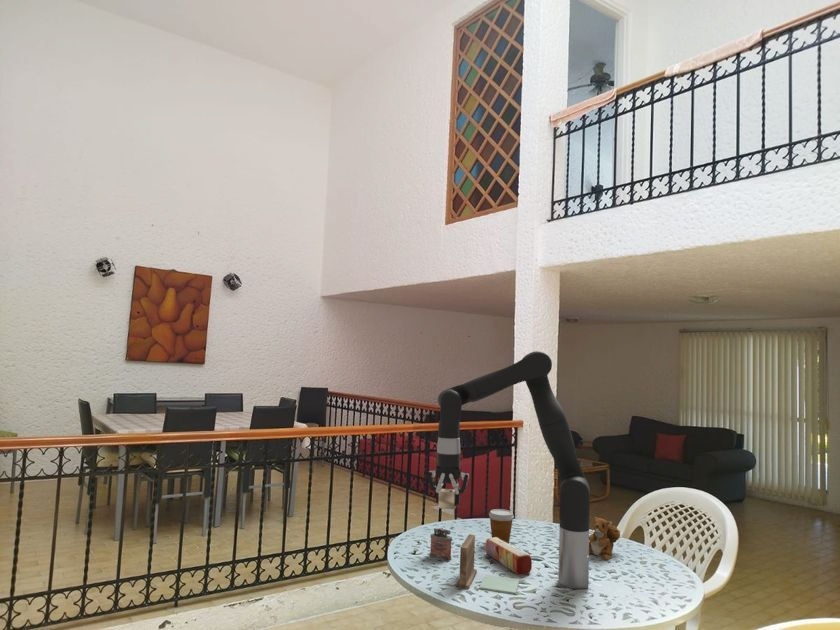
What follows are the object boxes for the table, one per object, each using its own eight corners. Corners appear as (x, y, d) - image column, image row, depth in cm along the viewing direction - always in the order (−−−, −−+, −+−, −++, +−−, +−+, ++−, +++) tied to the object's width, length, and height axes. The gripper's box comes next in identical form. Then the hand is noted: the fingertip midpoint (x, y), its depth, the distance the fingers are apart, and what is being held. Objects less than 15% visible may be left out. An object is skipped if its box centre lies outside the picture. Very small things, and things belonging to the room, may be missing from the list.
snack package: (483, 555, 202) (484, 535, 202) (499, 553, 204) (499, 534, 205) (515, 577, 182) (516, 555, 183) (533, 574, 185) (533, 553, 185)
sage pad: (519, 580, 179) (519, 579, 179) (515, 594, 168) (515, 592, 168) (485, 575, 182) (485, 574, 182) (479, 588, 171) (479, 587, 171)
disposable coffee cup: (483, 541, 216) (484, 509, 217) (504, 539, 220) (505, 508, 221) (496, 549, 207) (497, 516, 208) (518, 547, 211) (519, 514, 212)
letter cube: (456, 505, 183) (457, 489, 183) (453, 509, 178) (453, 493, 179) (442, 504, 184) (442, 488, 185) (438, 507, 179) (438, 491, 180)
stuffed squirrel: (579, 553, 207) (580, 517, 208) (599, 546, 216) (600, 511, 217) (604, 561, 200) (605, 523, 201) (624, 553, 209) (624, 517, 210)
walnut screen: (476, 572, 184) (478, 535, 185) (468, 589, 170) (470, 548, 171) (464, 571, 185) (466, 533, 186) (455, 587, 171) (457, 546, 172)
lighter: (427, 556, 197) (429, 527, 198) (432, 554, 200) (433, 525, 201) (448, 561, 193) (449, 531, 194) (452, 558, 196) (453, 529, 197)
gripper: (472, 451, 184) (471, 504, 183) (430, 448, 188) (429, 500, 187) (468, 454, 177) (467, 509, 176) (424, 451, 181) (423, 505, 180)
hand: (447, 504), depth 181 cm, fingers closed on letter cube, 5 cm apart
